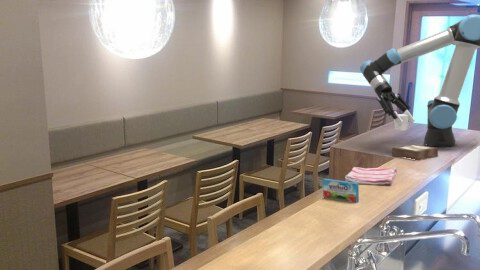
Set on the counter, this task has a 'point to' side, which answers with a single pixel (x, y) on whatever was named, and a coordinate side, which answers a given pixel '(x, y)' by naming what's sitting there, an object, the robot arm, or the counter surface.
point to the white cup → (404, 124)
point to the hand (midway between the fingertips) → (406, 122)
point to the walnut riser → (415, 152)
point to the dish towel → (372, 176)
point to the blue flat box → (341, 190)
